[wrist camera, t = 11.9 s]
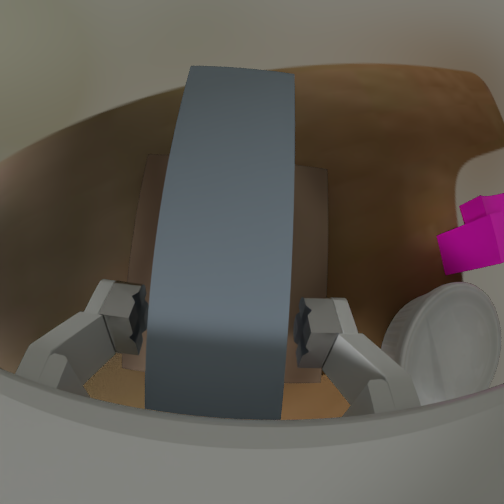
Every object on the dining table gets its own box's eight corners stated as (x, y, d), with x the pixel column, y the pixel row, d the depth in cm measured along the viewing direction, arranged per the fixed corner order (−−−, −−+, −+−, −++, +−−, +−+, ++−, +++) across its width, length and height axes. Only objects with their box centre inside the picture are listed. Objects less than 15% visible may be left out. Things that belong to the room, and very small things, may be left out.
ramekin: (341, 371, 22) (370, 386, 16) (412, 261, 24) (449, 249, 18) (421, 428, 21) (454, 446, 16) (478, 330, 23) (515, 330, 18)
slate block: (182, 363, 15) (145, 408, 8) (202, 158, 18) (191, 65, 10) (255, 369, 16) (280, 419, 8) (268, 163, 18) (294, 74, 10)
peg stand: (128, 364, 20) (100, 379, 15) (152, 162, 23) (135, 126, 18) (314, 378, 21) (340, 397, 16) (321, 176, 24) (344, 144, 19)
